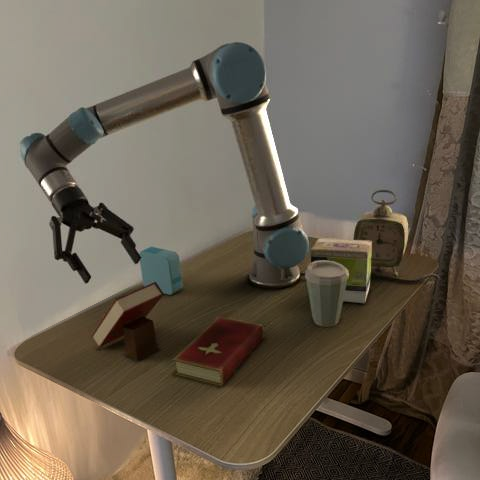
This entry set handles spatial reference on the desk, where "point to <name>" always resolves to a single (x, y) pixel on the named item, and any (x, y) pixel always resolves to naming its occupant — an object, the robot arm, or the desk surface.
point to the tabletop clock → (384, 234)
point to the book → (126, 312)
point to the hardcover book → (218, 350)
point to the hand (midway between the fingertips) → (114, 270)
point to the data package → (161, 269)
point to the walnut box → (140, 338)
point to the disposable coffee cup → (326, 290)
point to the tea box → (348, 263)
